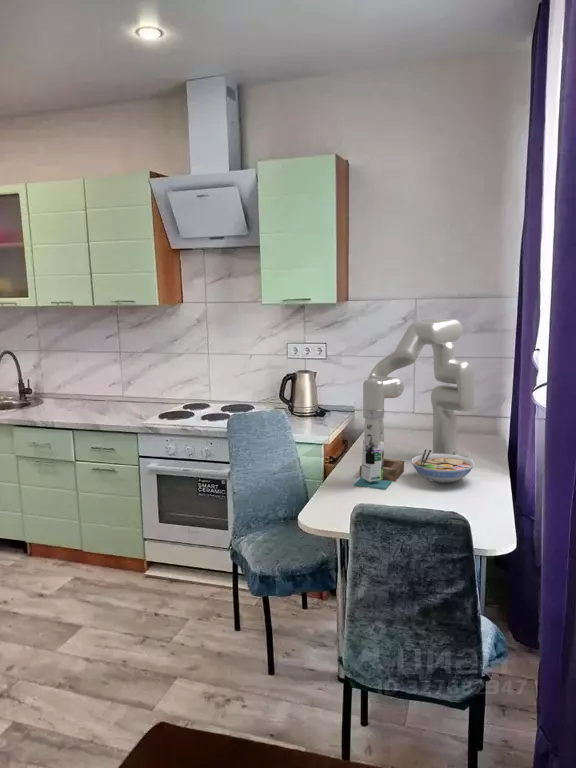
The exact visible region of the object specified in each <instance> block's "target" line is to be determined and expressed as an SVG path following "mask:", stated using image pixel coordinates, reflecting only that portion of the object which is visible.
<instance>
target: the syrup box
mask: <svg viewBox="0 0 576 768" xmlns="http://www.w3.org/2000/svg"><path fill="white" fill-rule="evenodd" d="M385 444H386V443H385V441H381V443H380V445H379V446H377V447H376V446H375V447H374V453H375V464H366V453H365V451H366V449H365V448H366V447H365V443H364V440H362V453H361V456H362V457H361V465H362V471H361V477H362V478H363V479H365V480H367V481H369V482H371V481H378V480H382V478H383V461H384V459H385V458H384V457H385ZM370 445H373V443H370ZM371 449H372V447H371Z"/></svg>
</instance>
